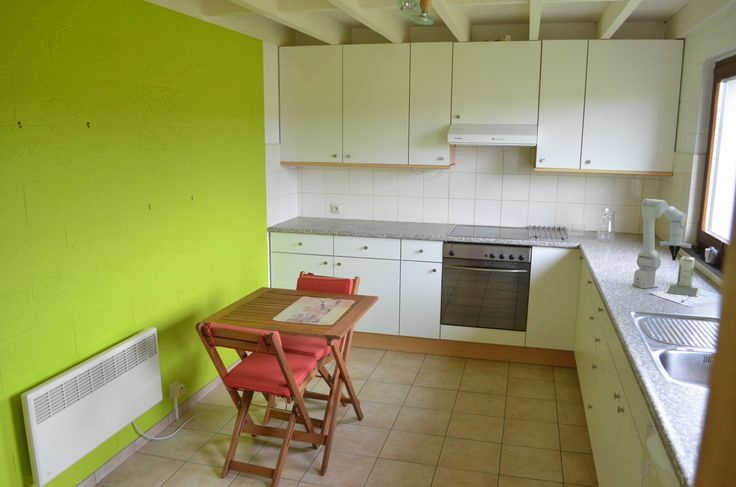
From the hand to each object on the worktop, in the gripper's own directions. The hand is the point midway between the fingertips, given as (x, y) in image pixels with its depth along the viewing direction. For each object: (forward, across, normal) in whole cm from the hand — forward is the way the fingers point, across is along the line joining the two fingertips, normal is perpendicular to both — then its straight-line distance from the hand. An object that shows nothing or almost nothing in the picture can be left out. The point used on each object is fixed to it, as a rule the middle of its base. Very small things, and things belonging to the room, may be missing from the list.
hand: (673, 260), depth 310 cm
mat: (+10, -6, +23) cm, 26 cm away
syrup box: (+11, -6, +11) cm, 17 cm away
